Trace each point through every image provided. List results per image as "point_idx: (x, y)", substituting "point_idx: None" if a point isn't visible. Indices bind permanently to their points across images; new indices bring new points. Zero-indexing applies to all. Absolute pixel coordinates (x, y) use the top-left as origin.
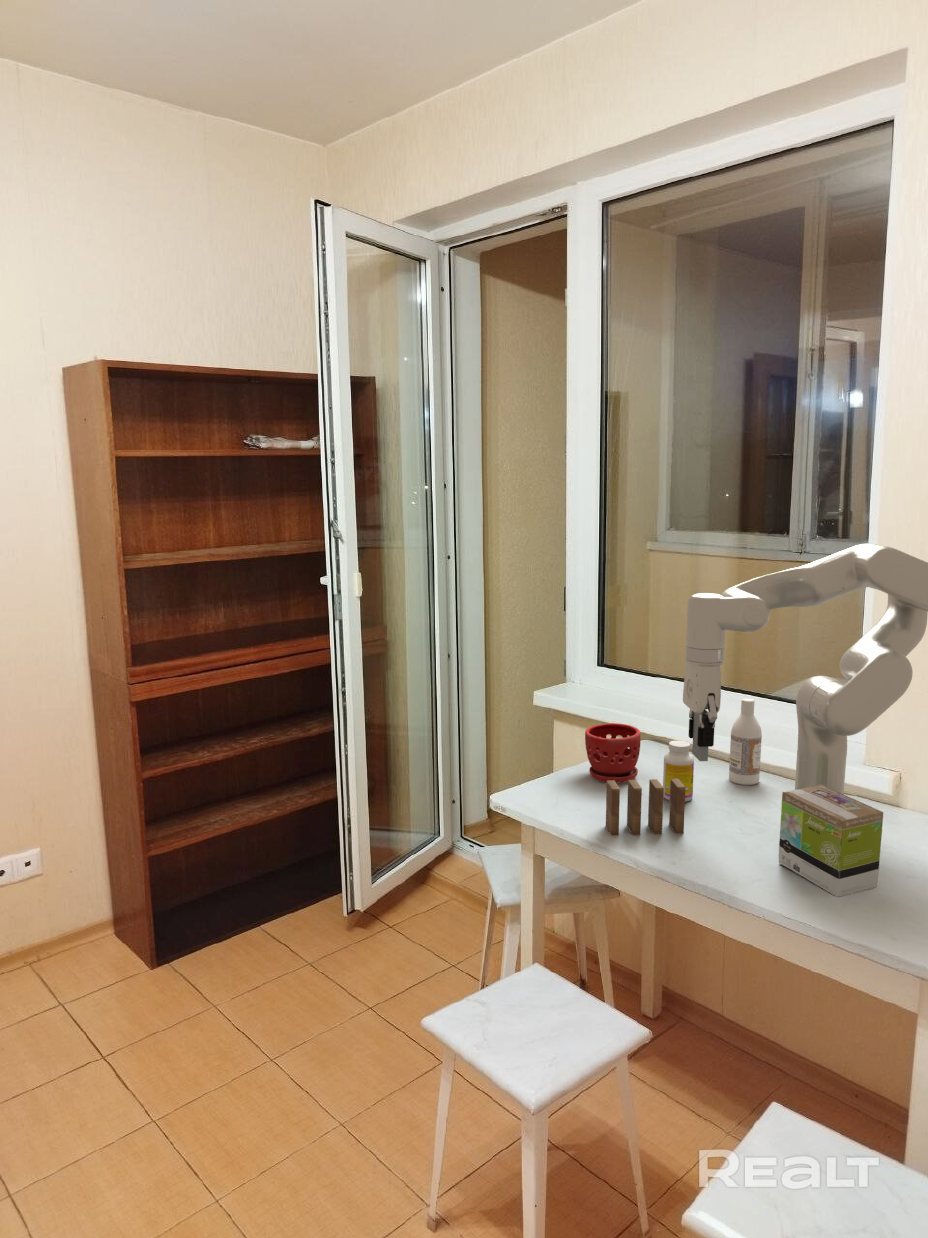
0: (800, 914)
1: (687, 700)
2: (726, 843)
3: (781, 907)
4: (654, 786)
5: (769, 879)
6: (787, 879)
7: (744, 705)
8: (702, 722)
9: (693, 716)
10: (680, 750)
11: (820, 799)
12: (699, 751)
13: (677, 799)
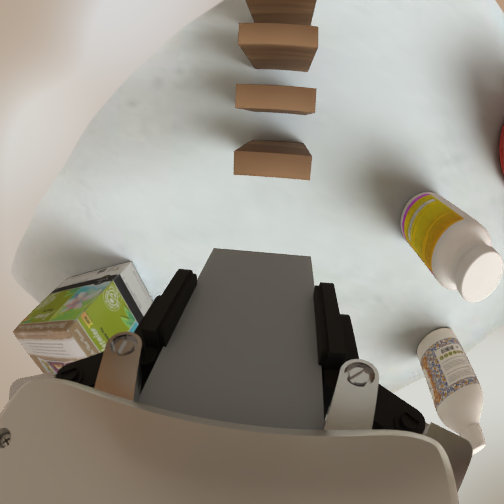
0: (35, 225)
1: (255, 494)
2: (202, 217)
3: (41, 212)
4: (252, 84)
5: (91, 228)
6: (94, 250)
7: (474, 440)
8: (104, 361)
9: (333, 385)
10: (461, 266)
11: (53, 354)
12: (216, 267)
13: (240, 147)
